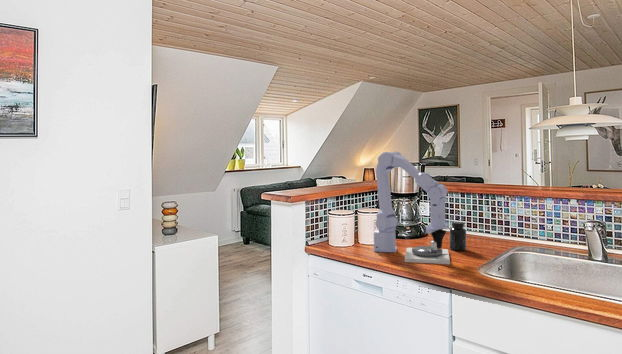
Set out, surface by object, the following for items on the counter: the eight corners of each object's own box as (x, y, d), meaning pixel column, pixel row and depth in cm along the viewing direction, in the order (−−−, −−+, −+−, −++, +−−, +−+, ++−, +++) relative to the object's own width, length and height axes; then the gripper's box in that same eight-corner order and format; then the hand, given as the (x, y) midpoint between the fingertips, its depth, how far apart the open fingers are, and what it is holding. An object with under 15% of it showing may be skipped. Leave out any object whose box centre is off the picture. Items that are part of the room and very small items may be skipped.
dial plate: (404, 261, 152) (404, 257, 151) (407, 250, 168) (407, 247, 168) (449, 264, 146) (449, 260, 146) (447, 252, 163) (447, 248, 163)
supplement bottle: (467, 251, 163) (467, 224, 163) (451, 251, 165) (450, 224, 164) (464, 247, 170) (464, 221, 169) (448, 247, 172) (448, 221, 171)
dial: (406, 251, 160) (406, 237, 160) (429, 247, 165) (429, 234, 164) (424, 258, 149) (423, 243, 149) (448, 254, 153) (448, 240, 153)
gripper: (437, 218, 144) (437, 253, 145) (456, 213, 154) (456, 246, 155) (421, 216, 150) (421, 250, 151) (440, 211, 159) (440, 243, 160)
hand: (437, 248), depth 153 cm, fingers closed, pressing on dial
